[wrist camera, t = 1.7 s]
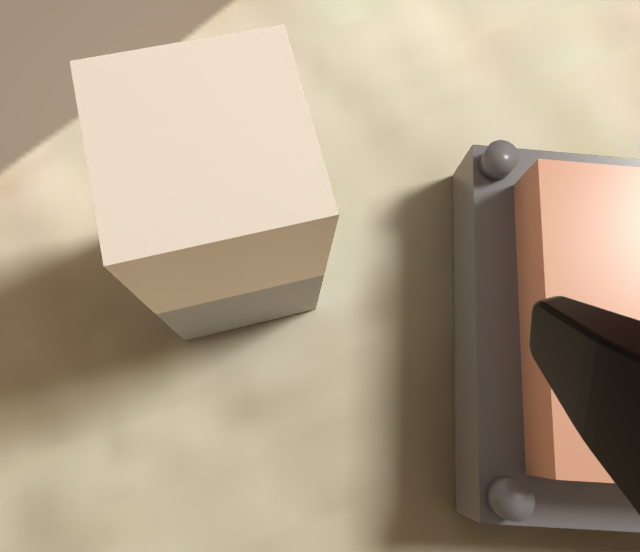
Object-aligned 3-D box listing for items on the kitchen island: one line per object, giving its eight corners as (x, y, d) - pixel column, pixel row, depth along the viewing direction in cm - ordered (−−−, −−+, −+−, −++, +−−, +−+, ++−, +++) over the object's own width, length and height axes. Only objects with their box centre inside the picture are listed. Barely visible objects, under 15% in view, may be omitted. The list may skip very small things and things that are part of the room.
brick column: (315, 309, 21) (339, 214, 12) (184, 340, 20) (103, 266, 11) (284, 191, 22) (284, 24, 13) (160, 217, 22) (69, 61, 12)
